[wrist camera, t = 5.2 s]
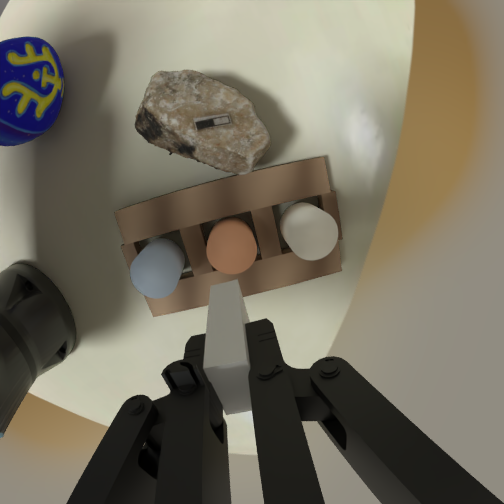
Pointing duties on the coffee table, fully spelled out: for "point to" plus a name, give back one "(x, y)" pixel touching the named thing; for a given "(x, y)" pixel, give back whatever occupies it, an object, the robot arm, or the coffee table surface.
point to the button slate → (157, 268)
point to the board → (223, 205)
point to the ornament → (28, 89)
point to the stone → (202, 121)
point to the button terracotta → (231, 246)
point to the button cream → (308, 231)
